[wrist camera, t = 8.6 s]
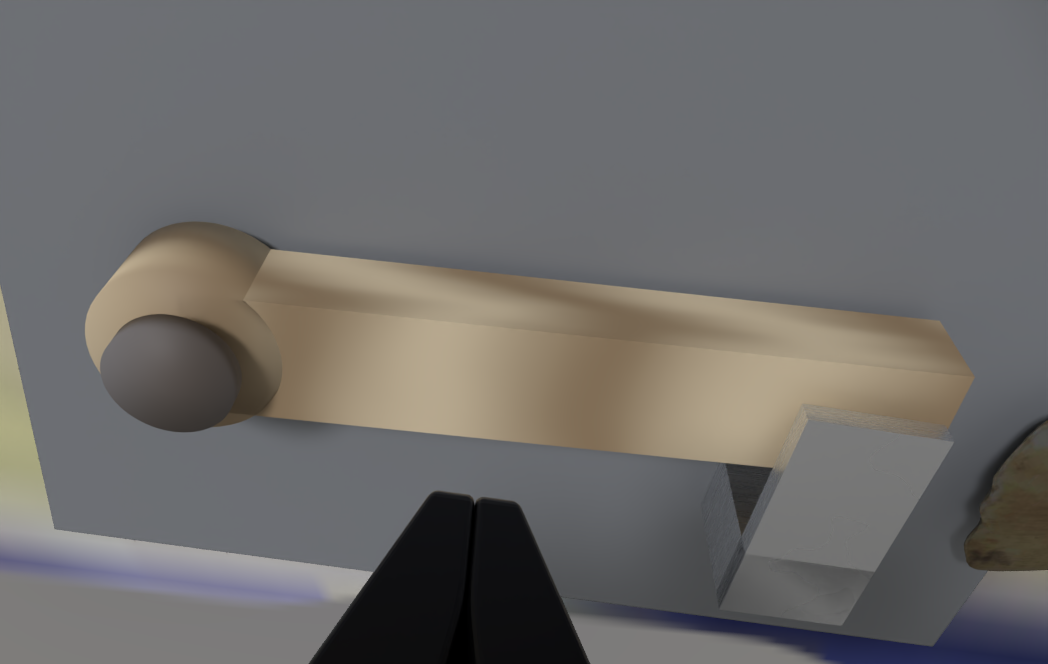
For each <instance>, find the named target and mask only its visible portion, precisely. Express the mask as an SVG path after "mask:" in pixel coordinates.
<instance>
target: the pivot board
mask: <svg viewBox="0 0 1048 664" xmlns="http://www.w3.org/2000/svg"><path fill="white" fill-rule="evenodd" d="M192 221H197V222H210V223H216V224H221V225H224V226H228V227H232V228H234V229H237V230H239V231H242V232H244V233H246V234H248V235H250V236H252V237H254V238H256V239H257V240H259V241H260V242H262V243H263V244H265V245H266V246H267V247H269V248H270V249H274V250H283V251H292V252H302V253H311V254H320V255H330V256H339V257H348V258H358V259H367V260H376V261H386V262H395V263H405V264H414V265H423V266H433V267H442V268H451V269H461V270H470V271H479V272H489V273H498V274H507V275H517V276H526V277H535V278H545V279H554V280H563V281H573V282H582V283H591V284H601V285H610V286H619V287H629V288H638V289H647V290H657V291H666V292H675V293H685V294H694V295H703V296H713V297H722V298H732V299H741V300H750V301H760V302H769V303H778V304H788V305H797V306H806V307H816V308H825V309H834V310H844V311H853V312H862V313H872V314H881V315H890V316H900V317H909V318H918V319H928V320H937V321H940V322H941V324H942V325H943V327H944V328H945V330H946V332H947V333H948V335H949V336H950V338H951V340H952V341H953V343H954V344H955V346H956V348H957V349H958V351H959V352H960V354H961V356H962V357H963V359H964V360H965V362H966V364H967V365H968V367H969V368H970V370H971V372H972V373H973V375H974V376H975V378H974V380H973V382H972V384H971V386H970V388H969V390H968V392H967V393H966V395H965V397H964V399H963V401H962V403H961V405H960V407H959V409H958V411H957V413H956V415H955V417H954V419H953V421H952V422H951V424H950V426H949V428H948V431H949V433H950V435H951V437H952V438H953V440H954V443H953V445H952V447H951V448H950V450H949V452H948V453H947V455H946V456H945V458H944V460H943V461H942V463H941V465H940V466H939V468H938V470H937V471H936V473H935V474H934V476H933V478H932V479H931V481H930V483H929V484H928V486H927V488H926V489H925V491H924V492H923V494H922V496H921V497H920V499H919V501H918V502H917V504H916V505H915V507H914V509H913V510H912V512H911V514H910V515H909V517H908V519H907V520H906V522H905V523H904V525H903V527H902V528H901V530H900V532H899V533H898V535H897V537H896V538H895V540H894V541H893V543H892V545H891V546H890V548H889V550H888V551H887V553H886V554H885V556H884V558H883V559H882V561H881V563H880V564H879V566H878V568H877V569H876V571H875V572H874V574H873V576H872V577H871V579H870V581H869V582H868V584H867V585H866V587H865V589H864V590H863V592H862V594H861V595H860V597H859V599H858V600H857V602H856V603H855V605H854V607H853V608H852V610H851V612H850V613H849V615H848V617H847V618H846V620H845V621H844V623H843V625H842V626H838V625H831V624H824V623H816V622H809V621H801V620H794V619H786V618H779V617H771V616H764V615H757V614H749V613H742V612H734V611H727V610H719V606H718V600H717V595H716V589H715V583H714V578H713V572H712V567H711V561H710V555H709V550H708V544H707V538H706V533H705V527H704V521H703V516H702V510H701V504H702V501H703V499H704V496H705V494H706V491H707V489H708V486H709V484H710V481H711V479H712V477H713V474H714V472H715V469H716V467H717V464H718V462H710V461H700V460H690V459H680V458H670V457H661V456H651V455H641V454H631V453H621V452H611V451H601V450H591V449H581V448H571V447H561V446H552V445H542V444H532V443H522V442H512V441H502V440H492V439H482V438H472V437H462V436H452V435H443V434H433V433H423V432H413V431H403V430H393V429H383V428H373V427H363V426H353V425H343V424H334V423H324V422H314V421H304V420H294V419H284V418H274V417H264V416H253V417H251V418H249V419H247V420H245V421H242V422H239V423H236V424H232V425H227V426H221V427H210V428H208V429H205V430H202V431H196V432H172V431H166V430H162V429H158V428H155V427H152V426H150V425H148V424H145V423H143V422H141V421H139V420H137V419H136V418H134V417H133V416H131V415H130V414H128V413H127V412H126V411H124V410H123V409H122V408H121V407H120V406H119V405H118V404H117V403H116V402H115V401H114V400H113V399H112V397H111V396H110V395H109V393H108V392H107V390H106V388H105V386H104V384H103V381H102V378H101V374H100V372H99V371H98V369H97V367H96V366H95V364H94V362H93V360H92V358H91V356H90V354H89V350H88V347H87V344H86V338H85V322H86V317H87V313H88V310H89V308H90V305H91V304H92V302H93V301H94V299H95V297H96V296H97V295H98V294H99V292H100V291H101V290H102V289H103V287H104V286H105V285H106V284H107V282H108V281H109V280H110V279H111V277H112V276H113V275H114V274H115V272H116V271H117V270H118V269H119V267H120V266H121V265H122V264H123V262H124V261H125V260H126V259H127V257H128V256H129V255H130V254H131V252H132V251H133V250H134V249H135V247H136V246H137V245H138V244H139V243H140V242H141V241H142V240H143V239H144V238H145V237H146V236H148V235H149V234H151V233H152V232H154V231H156V230H158V229H160V228H162V227H165V226H168V225H171V224H176V223H181V222H192ZM0 285H1V290H2V294H3V299H4V303H5V308H6V312H7V317H8V321H9V326H10V330H11V335H12V339H13V344H14V348H15V353H16V357H17V362H18V366H19V371H20V375H21V380H22V384H23V389H24V393H25V398H26V402H27V407H28V411H29V416H30V420H31V425H32V429H33V434H34V438H35V443H36V447H37V452H38V456H39V461H40V465H41V470H42V474H43V479H44V483H45V488H46V492H47V496H48V501H49V505H50V510H51V514H52V519H53V523H54V528H55V529H57V530H64V531H72V532H79V533H87V534H94V535H102V536H109V537H117V538H124V539H132V540H139V541H147V542H154V543H162V544H169V545H176V546H184V547H191V548H199V549H206V550H214V551H221V552H229V553H236V554H244V555H251V556H259V557H266V558H274V559H281V560H289V561H296V562H304V563H311V564H319V565H326V566H334V567H341V568H349V569H356V570H363V571H371V572H374V571H375V570H376V568H377V567H378V565H379V564H380V563H381V561H382V560H383V558H384V557H385V556H386V554H387V553H388V551H389V550H390V549H391V547H392V546H393V544H394V543H395V542H396V540H397V539H398V537H399V536H400V534H401V533H402V532H403V530H404V529H405V527H406V526H407V525H408V523H409V522H410V520H411V519H412V518H413V516H414V515H415V513H416V512H417V511H418V509H419V508H420V506H421V505H422V504H423V502H424V501H425V499H426V498H427V497H428V495H429V494H431V493H432V492H433V491H446V492H453V493H461V494H468V495H470V496H471V497H473V499H474V504H475V502H476V500H477V499H478V498H480V497H489V498H496V499H504V500H511V501H515V502H517V503H518V504H519V505H520V506H521V508H522V510H523V512H524V514H525V517H526V519H527V521H528V523H529V526H530V528H531V530H532V533H533V535H534V537H535V539H536V542H537V544H538V546H539V548H540V551H541V553H542V555H543V558H544V560H545V562H546V564H547V567H548V569H549V571H550V574H551V576H552V578H553V580H554V583H555V585H556V587H557V589H558V592H559V594H560V596H561V597H565V598H573V599H580V600H588V601H595V602H603V603H610V604H618V605H625V606H633V607H640V608H648V609H655V610H663V611H670V612H678V613H685V614H693V615H700V616H708V617H715V618H723V619H730V620H738V621H745V622H752V623H760V624H767V625H775V626H782V627H790V628H797V629H805V630H812V631H820V632H827V633H835V634H842V635H850V636H857V637H865V638H872V639H880V640H887V641H895V642H902V643H910V644H917V645H925V646H932V647H933V645H934V644H935V643H936V641H937V640H938V639H939V637H940V636H941V634H942V633H943V632H944V630H945V629H946V628H947V626H948V625H949V623H950V622H951V621H952V619H953V618H954V617H955V615H956V614H957V612H958V611H959V610H960V608H961V607H962V606H963V604H964V603H965V601H966V600H967V599H968V597H969V596H970V595H971V593H972V592H973V590H974V589H975V588H976V586H977V585H978V584H979V582H980V581H981V579H982V578H983V577H984V575H985V574H986V573H987V571H985V570H977V569H974V568H972V567H970V566H969V565H968V563H967V562H966V557H965V552H964V542H965V540H966V538H967V536H968V535H969V534H970V532H971V531H972V530H973V529H974V528H975V527H976V526H977V525H978V523H979V521H980V517H981V515H980V512H979V506H980V504H981V502H982V500H983V498H984V497H985V495H986V494H987V492H988V491H989V489H990V487H991V486H992V484H993V477H994V475H995V474H996V472H997V471H998V469H999V468H1000V467H1001V465H1002V464H1003V463H1004V462H1005V460H1006V459H1007V458H1008V457H1009V456H1010V455H1011V454H1012V452H1013V451H1014V450H1015V449H1016V448H1017V447H1018V446H1019V445H1020V444H1021V443H1022V442H1023V441H1024V439H1025V438H1026V437H1027V436H1029V435H1030V434H1031V433H1032V432H1033V431H1034V430H1035V429H1036V428H1037V427H1038V426H1040V425H1041V424H1043V423H1044V422H1045V421H1047V420H1048V0H0Z"/></svg>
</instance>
